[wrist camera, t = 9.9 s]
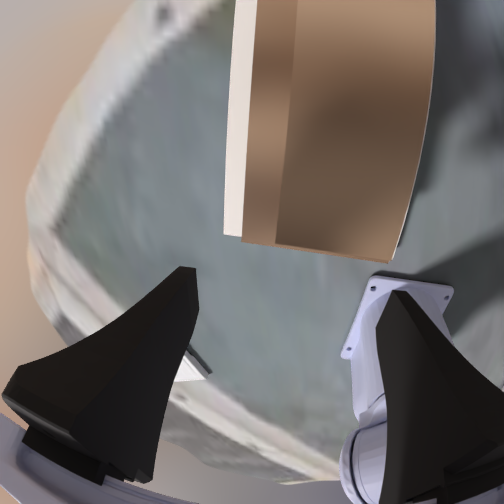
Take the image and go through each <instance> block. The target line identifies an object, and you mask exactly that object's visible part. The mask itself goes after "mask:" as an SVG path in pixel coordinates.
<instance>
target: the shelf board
mask: <svg viewBox="0 0 504 504" xmlns="http://www.w3.org/2000/svg"><path fill="white" fill-rule="evenodd" d="M434 40H435V0H257V11H256V24H255V37H254V50H253V64H252V78H251V92H250V107H249V122H248V138H247V154H246V170H245V187H244V204H243V222H242V240H241V242H245V243H252V244H259V245H266V246H273V247H280V248H287V249H294V250H301V251H308V252H314V253H321V254H328V255H335V256H341V257H348V258H355V259H361V260H368V261H374V262H381V263H387V264H388V262H389V261H391V260H392V257H393V254H394V251H395V248H396V245H397V241H398V238H399V235H400V232H401V229H402V225H403V222H404V218H405V215H406V211H407V208H408V204H409V200H410V196H411V192H412V188H413V184H414V180H415V176H416V172H417V167H418V163H419V158H420V153H421V148H422V143H423V137H424V132H425V126H426V120H427V113H428V106H429V99H430V91H431V81H432V71H433V58H434Z"/></svg>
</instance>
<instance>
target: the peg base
mask: <svg viewBox="0 0 504 504" xmlns="http://www.w3.org/2000/svg"><path fill="white" fill-rule="evenodd" d="M256 11H257V0H236V7H235V19H234V31H233V45H232V59H231V74H230V90H229V108H228V127H227V149H226V174H225V204H224V234H226V235H233V236H240V237H242V222H243V204H244V187H245V170H246V154H247V138H248V122H249V107H250V92H251V78H252V64H253V50H254V37H255V24H256ZM435 42H436V0H435V40H434V58H433V71H432V81H431V91H432V82H433V72H434V59H435ZM431 91H430V99H431ZM430 99H429V106H430ZM429 106H428V113H429ZM428 113H427V120H428ZM427 120H426V126H427ZM426 126H425V132H426ZM425 132H424V137H425ZM424 137H423V143H424ZM423 143H422V148H423ZM422 148H421V153H422ZM421 153H420V158H421ZM420 158H419V162H420ZM418 167H419V163H418ZM418 167H417V171H418ZM416 176H417V172H416ZM416 176H415V180H416ZM415 180H414V184H415ZM414 184H413V188H414ZM413 188H412V192H413ZM412 192H411V196H412ZM411 196H410V200H411ZM410 200H409V204H410ZM409 204H408V207H409ZM407 211H408V208H407ZM407 211H406V214H407ZM405 218H406V215H405ZM405 218H404V221H405ZM403 225H404V222H403ZM403 225H402V228H403ZM401 231H402V229H401ZM400 235H401V232H400ZM400 235H399V238H400ZM399 238H398V241H399ZM398 241H397V244H398ZM396 247H397V245H396ZM395 250H396V248H395ZM394 253H395V251H394ZM393 256H394V254H393ZM392 259H393V257H392Z"/></svg>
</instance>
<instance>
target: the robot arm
mask: <svg viewBox="0 0 504 504" xmlns="http://www.w3.org/2000/svg"><path fill="white" fill-rule="evenodd" d="M372 286H376V287H375V288H371V287H372ZM453 293H454V289H453V287H452V286H447V285H440V284H433V283H426V282H419V281H412V280H405V279H398V278H391V277H384V276H377V275H376V276H372V277H370V279H369V281H368V284H367V286H366V289H365V292H364V295H363V298H362V301H361V303H360V306H359V309H358V311H357V314H356V317H355V319H354V322H353V324H352V327H351V329H350V332H349V334H348V337H347V339H346V342H345V344H344V347H343V349H342V351H341V357H342V358H344V359H351V372H352V391H353V409H354V413H355V416H356V418H357V420H358V421H359V428H357V429H355V430H353V431H352V432H351V433H349V435H348V436H347V438H346V440H345V442H344V445H343V448H342V450H341V454H340V460H339V472H340V479H341V483H342V487H343V489H344V491H345V493H346V495H347V496H348V498H349V499H350V500H351V501H352V502H353V503H354V504H504V392H503V391H502V390H500V389H499V388H498V387H496V386H495V385H494V384H493V383H491V382H490V381H489V380H488V379H487V378H486V377H484V376H483V375H482V374H481V373H480V372H479V371H478V370H477V369H476V368H474V367H473V366H472V365H471V364H470V363H469V362H468V361H467V360H466V359H465V358H464V357H463V356H462V354H461V353H460V352H459V351H458V350H457V349H456V348H455V346H454V343H453V341H452V338H451V336H450V333H449V331H448V328H447V326H446V323H445V321H444V318H443V316H442V315H443V313H444V311H445V309H446V307H447V305H448V303H449V301H450V299H451V297H452V295H453ZM445 296H447V297H445ZM198 312H199V301H198V290H197V278H196V268H190V267H183V266H179V267H178V268H177V269H176V270H175V271H173V272H172V273H171V274H170V275H169V276H168V277H167V278H165V279H164V280H163V281H162V282H161V283H160V284H159V285H158V286H156V287H155V288H154V289H153V290H152V291H151V292H149V293H148V294H147V295H146V296H145V297H144V298H142V299H141V300H140V301H139V302H138V303H136V304H135V305H134V306H132V307H131V308H130V309H129V310H127V311H126V312H125V313H124V314H122V315H121V316H120V317H118V318H117V319H115V320H114V321H112V322H111V323H109V324H108V325H106V326H105V327H103V328H102V329H100V330H99V331H97V332H95V333H93V334H92V335H90V336H88V337H86V338H84V339H83V340H81V341H79V342H77V343H75V344H73V345H71V346H69V347H67V348H65V349H63V350H61V351H59V352H56V353H54V354H52V355H49V356H47V357H44V358H41V359H39V360H36V361H33V362H30V363H27V364H24V365H20V366H18V368H17V369H16V371H15V372H14V374H13V376H12V377H11V379H10V381H9V382H8V384H7V386H6V388H5V389H4V391H3V393H2V398H3V400H4V401H5V403H6V404H7V405H8V406H9V407H10V408H11V409H12V410H13V411H14V412H15V413H16V414H17V415H19V416H20V417H21V418H22V419H23V420H24V421H25V422H26V423H28V424H29V427H28V429H27V431H26V430H25V429H23V428H22V427H21V426H19V425H18V424H16V423H15V422H13V421H12V420H10V419H9V418H8V417H6V416H4V415H3V414H2V413H0V486H1V487H2V488H3V489H5V490H6V491H7V492H8V493H9V494H10V495H11V496H12V497H14V498H15V499H16V500H17V501H18V502H19V503H20V504H198V503H193V502H189V501H184V500H180V499H177V498H173V497H169V496H165V495H162V494H159V493H155V492H152V491H149V490H146V489H143V488H139V487H137V486H134V485H131V484H128V483H125V482H124V479H125V480H128V481H130V482H134V481H137V482H140V483H143V484H144V483H147V482H150V481H151V480H152V479H153V472H154V464H155V458H156V452H157V447H158V442H159V437H160V432H161V427H162V423H163V418H164V414H165V410H166V406H167V402H168V398H169V395H170V391H171V388H172V385H173V382H174V379H175V377H176V374H177V372H178V369H179V367H180V364H181V362H182V359H183V357H184V354H185V352H186V349H187V347H188V344H189V342H190V339H191V337H192V334H193V331H194V328H195V324H196V320H197V316H198ZM348 347H350V348H348Z"/></svg>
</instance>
